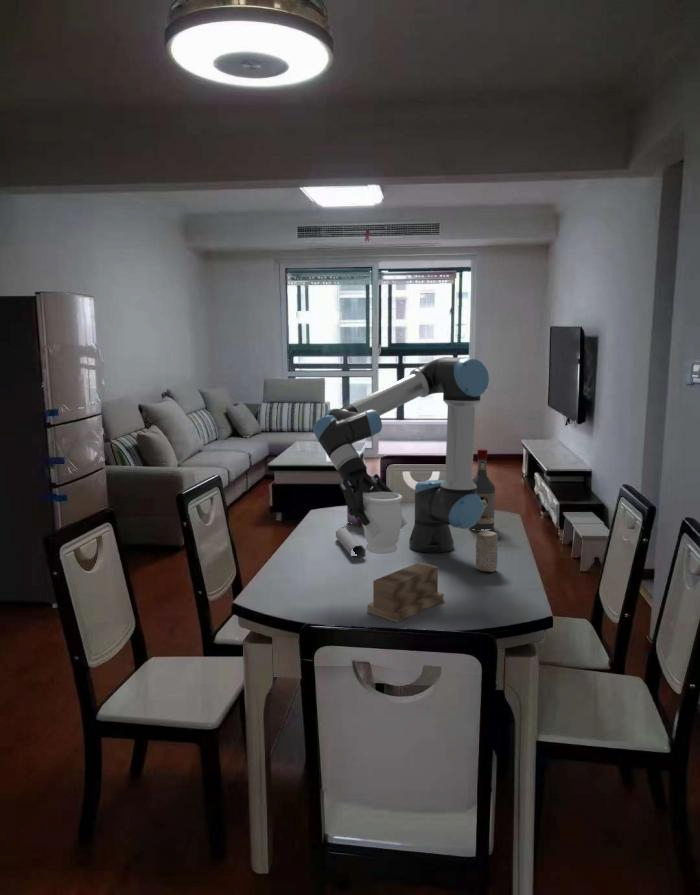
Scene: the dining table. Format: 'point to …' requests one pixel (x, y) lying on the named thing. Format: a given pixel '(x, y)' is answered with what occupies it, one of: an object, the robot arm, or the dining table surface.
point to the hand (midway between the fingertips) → (390, 530)
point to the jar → (383, 521)
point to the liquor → (484, 493)
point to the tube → (350, 543)
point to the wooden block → (405, 592)
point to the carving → (486, 551)
